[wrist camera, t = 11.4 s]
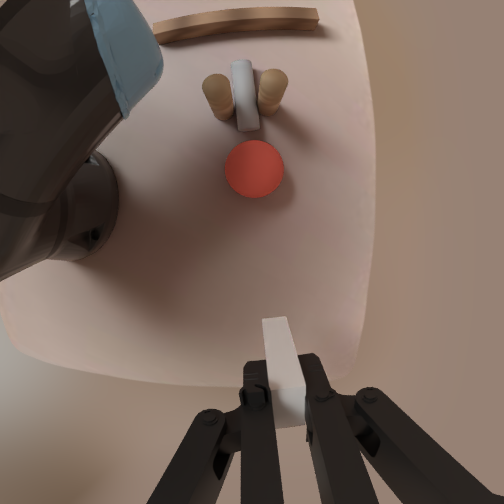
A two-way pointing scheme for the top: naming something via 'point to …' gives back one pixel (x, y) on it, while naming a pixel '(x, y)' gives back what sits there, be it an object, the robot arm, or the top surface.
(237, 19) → the back wall
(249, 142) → the ball
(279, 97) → the pin
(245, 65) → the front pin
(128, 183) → the top surface
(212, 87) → the pin
